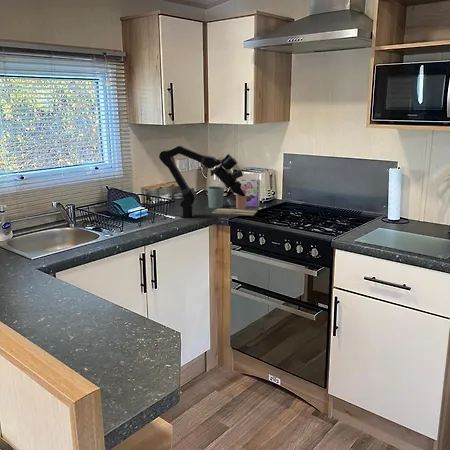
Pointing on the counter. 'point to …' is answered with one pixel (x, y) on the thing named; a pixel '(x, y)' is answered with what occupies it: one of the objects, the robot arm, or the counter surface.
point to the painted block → (241, 201)
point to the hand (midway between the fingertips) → (243, 195)
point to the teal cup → (215, 196)
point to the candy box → (251, 191)
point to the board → (235, 212)
